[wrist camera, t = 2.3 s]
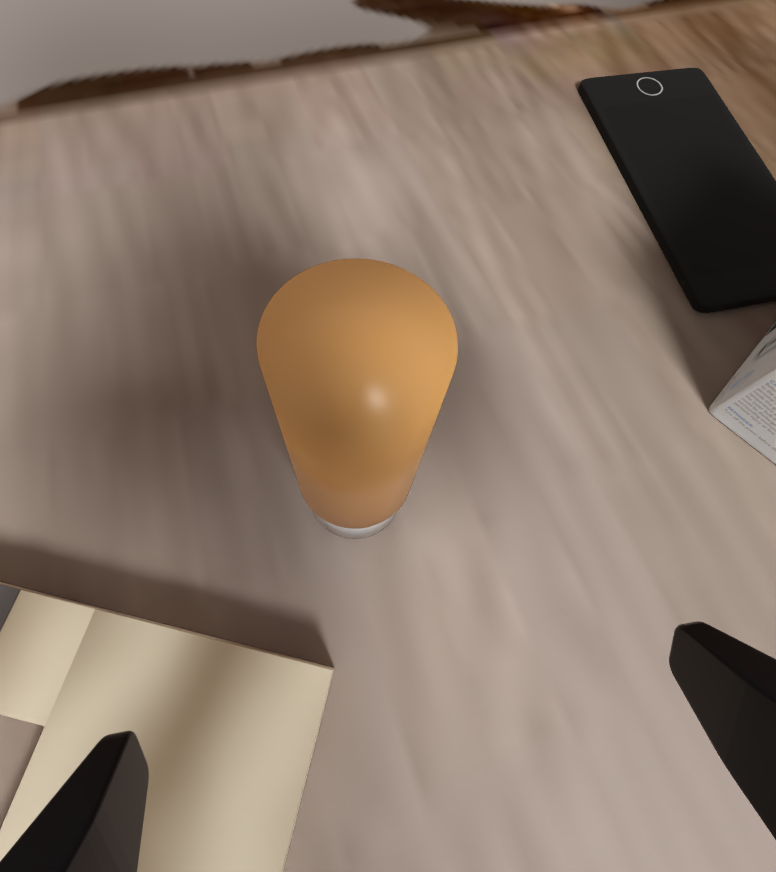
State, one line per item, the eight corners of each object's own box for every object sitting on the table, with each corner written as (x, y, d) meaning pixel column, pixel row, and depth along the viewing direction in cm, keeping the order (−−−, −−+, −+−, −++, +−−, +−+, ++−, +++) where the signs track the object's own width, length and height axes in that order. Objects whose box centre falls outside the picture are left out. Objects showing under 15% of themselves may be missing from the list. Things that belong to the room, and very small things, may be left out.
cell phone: (692, 79, 36) (700, 65, 35) (830, 294, 30) (845, 283, 29) (573, 92, 34) (578, 77, 34) (691, 319, 28) (702, 308, 27)
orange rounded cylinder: (414, 459, 24) (473, 283, 12) (392, 554, 22) (437, 454, 11) (320, 436, 24) (291, 240, 12) (291, 529, 22) (227, 403, 11)
